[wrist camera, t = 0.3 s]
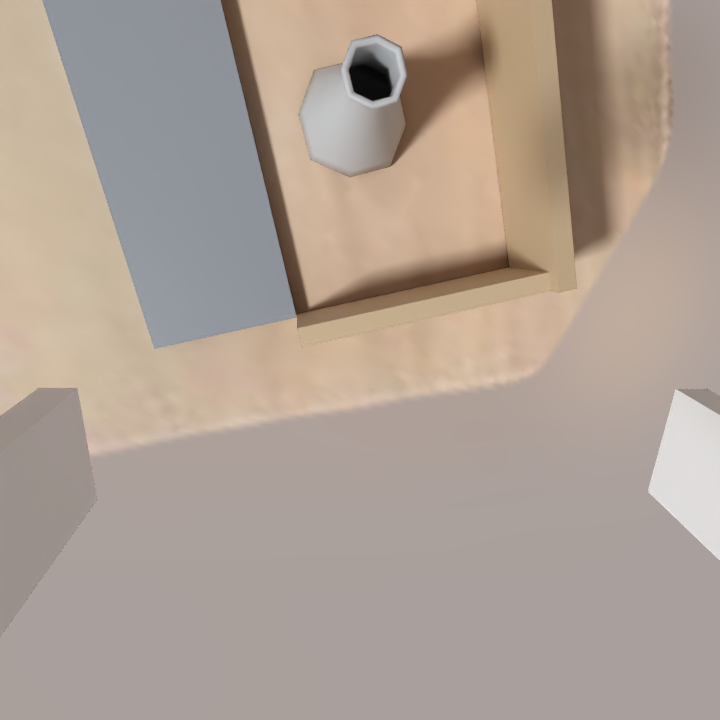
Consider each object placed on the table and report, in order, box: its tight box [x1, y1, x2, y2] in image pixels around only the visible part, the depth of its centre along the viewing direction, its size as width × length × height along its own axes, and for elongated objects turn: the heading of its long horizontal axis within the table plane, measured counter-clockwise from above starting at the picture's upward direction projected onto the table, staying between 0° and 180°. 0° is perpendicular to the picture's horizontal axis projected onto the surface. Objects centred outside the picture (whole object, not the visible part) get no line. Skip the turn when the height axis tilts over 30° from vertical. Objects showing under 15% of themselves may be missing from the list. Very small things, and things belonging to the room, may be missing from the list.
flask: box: [298, 34, 408, 177], centre depth 28 cm, size 7×7×10 cm
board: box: [43, 0, 297, 349], centre depth 32 cm, size 24×10×1 cm, turn 12°
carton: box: [297, 0, 577, 347], centre depth 29 cm, size 32×17×7 cm, turn 12°
